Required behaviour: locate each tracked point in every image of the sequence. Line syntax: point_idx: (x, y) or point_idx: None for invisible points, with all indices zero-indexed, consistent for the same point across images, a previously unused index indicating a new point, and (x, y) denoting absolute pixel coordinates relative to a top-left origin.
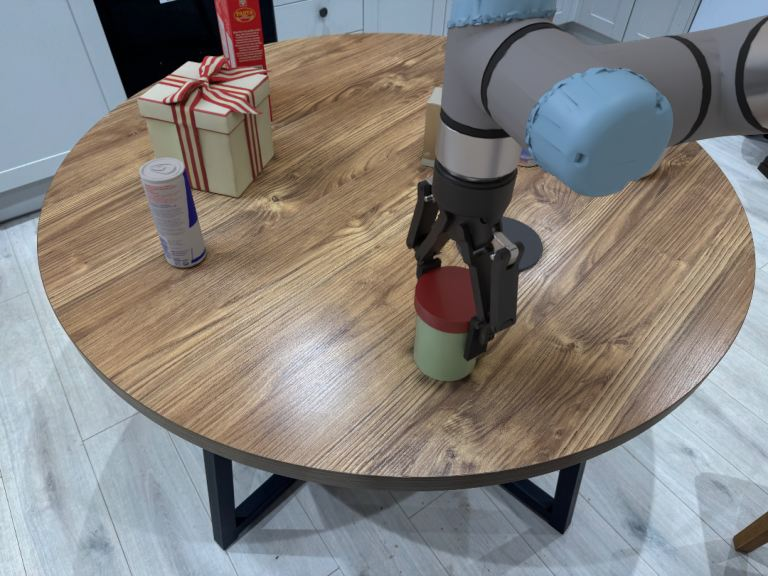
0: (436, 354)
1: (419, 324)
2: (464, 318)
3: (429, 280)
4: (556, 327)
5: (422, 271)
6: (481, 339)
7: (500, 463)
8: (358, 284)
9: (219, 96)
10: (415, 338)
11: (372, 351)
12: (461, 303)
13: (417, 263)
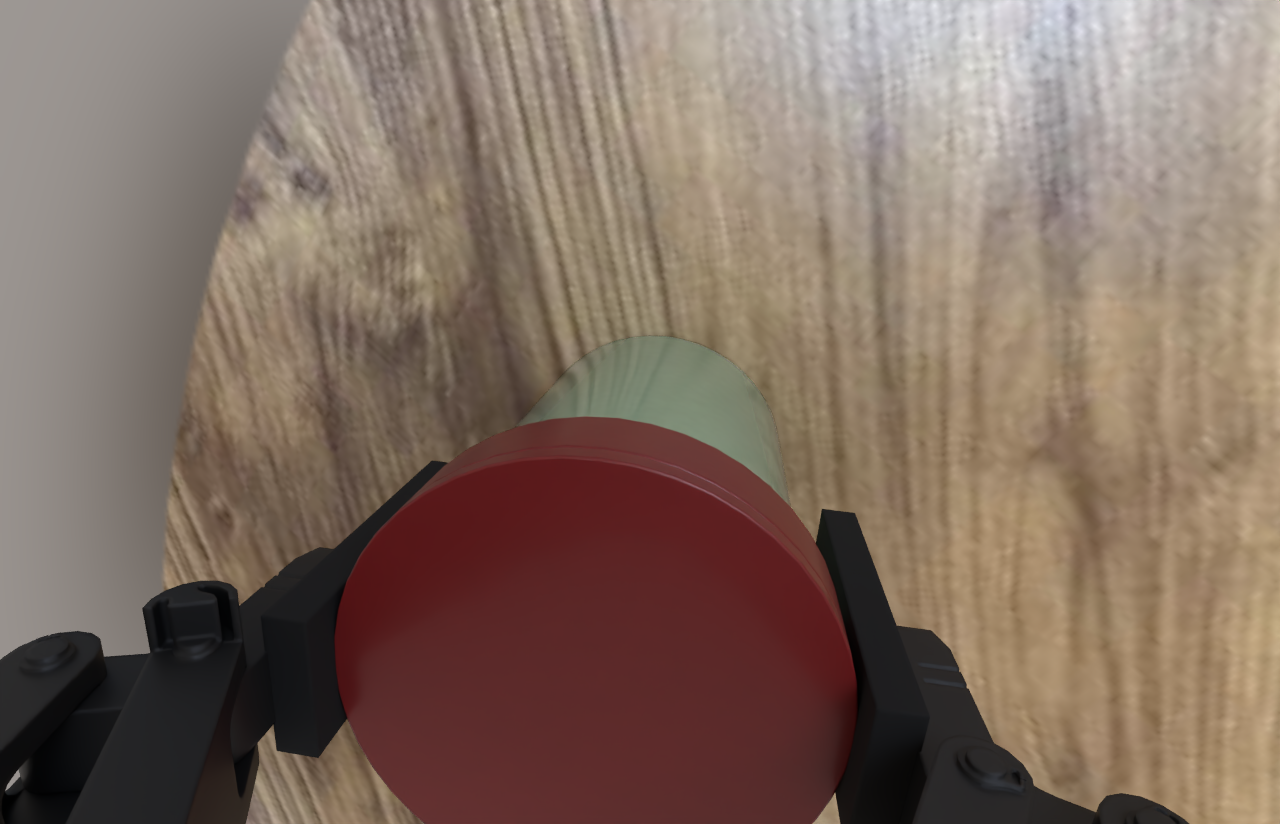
0: (561, 390)
1: (677, 418)
2: (374, 595)
3: (778, 665)
4: None
5: (870, 691)
6: (310, 567)
7: (211, 297)
8: (1238, 436)
9: None
10: (721, 389)
11: (864, 235)
12: (483, 667)
13: (977, 719)
